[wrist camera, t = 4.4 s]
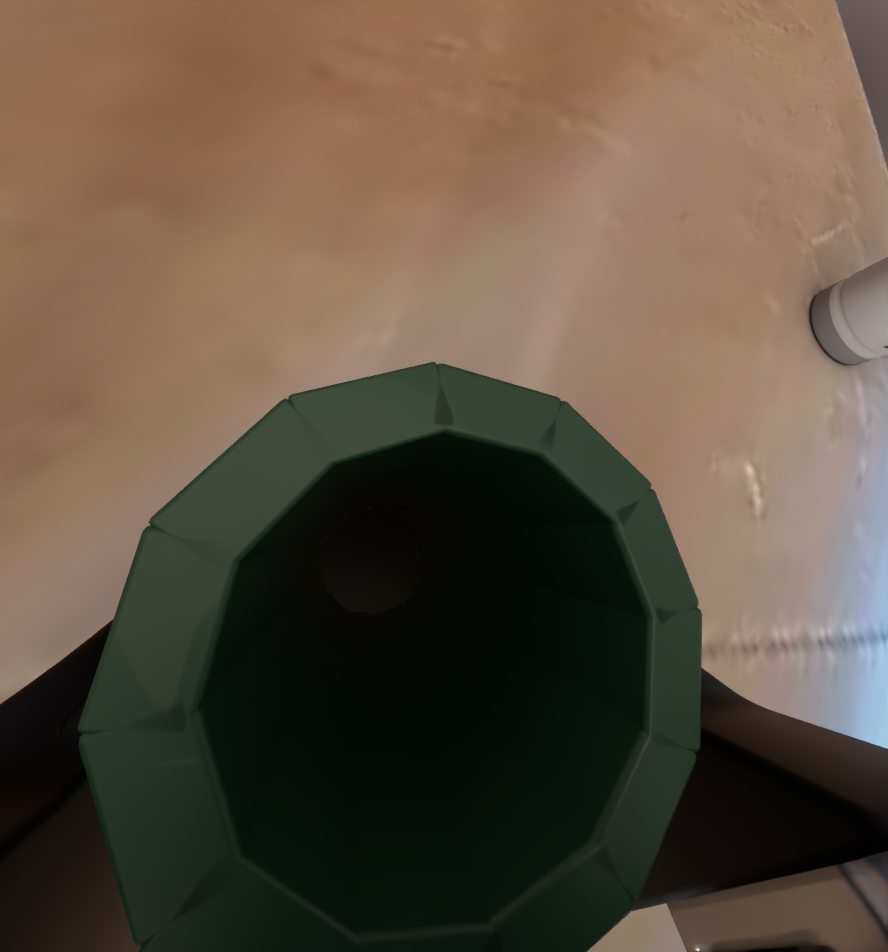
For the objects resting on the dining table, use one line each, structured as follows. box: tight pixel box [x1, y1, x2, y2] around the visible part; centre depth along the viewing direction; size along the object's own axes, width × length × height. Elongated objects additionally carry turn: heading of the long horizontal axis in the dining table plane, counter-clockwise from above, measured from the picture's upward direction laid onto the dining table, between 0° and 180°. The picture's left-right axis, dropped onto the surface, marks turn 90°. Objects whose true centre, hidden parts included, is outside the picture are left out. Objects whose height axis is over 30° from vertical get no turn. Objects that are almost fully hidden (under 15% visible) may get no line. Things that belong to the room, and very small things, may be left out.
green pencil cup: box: [78, 362, 702, 952], centre depth 9 cm, size 6×6×12 cm
